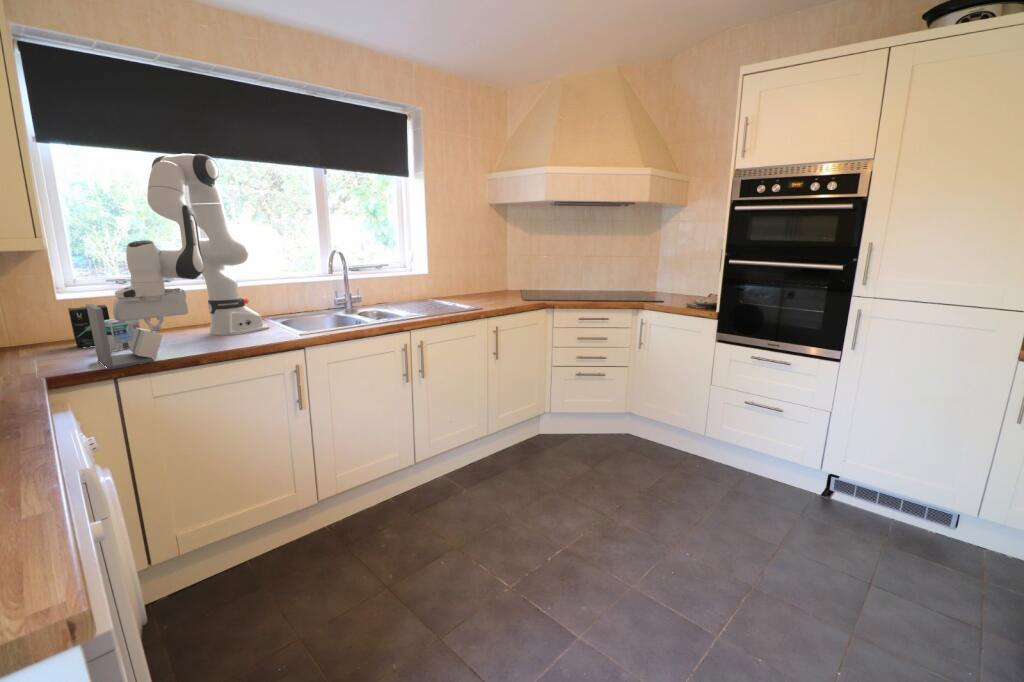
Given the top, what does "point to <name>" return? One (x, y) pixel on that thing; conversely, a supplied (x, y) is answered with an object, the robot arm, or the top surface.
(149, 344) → the cream carton
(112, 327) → the light bulb box
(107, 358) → the display platform
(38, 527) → the top surface
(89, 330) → the tampon box
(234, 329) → the robot arm
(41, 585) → the top surface
